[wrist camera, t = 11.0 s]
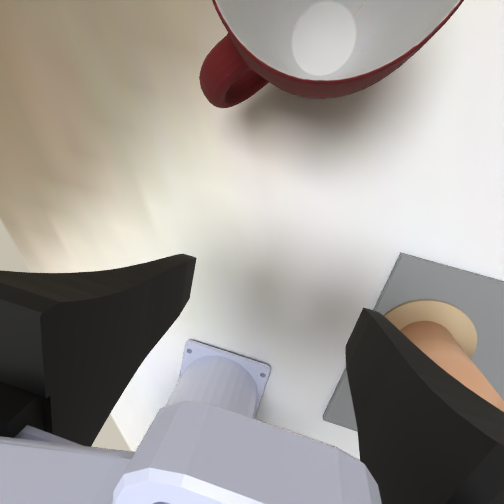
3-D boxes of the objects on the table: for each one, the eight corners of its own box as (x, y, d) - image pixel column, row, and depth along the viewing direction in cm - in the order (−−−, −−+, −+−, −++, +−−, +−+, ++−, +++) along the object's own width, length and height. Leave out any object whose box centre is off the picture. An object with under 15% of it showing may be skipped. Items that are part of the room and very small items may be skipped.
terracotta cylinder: (439, 371, 22) (485, 448, 16) (386, 357, 22) (412, 427, 16) (462, 329, 20) (522, 397, 15) (405, 314, 21) (441, 376, 15)
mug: (277, 169, 19) (251, 189, 10) (200, 69, 18) (91, -11, 9) (426, 46, 16) (595, -98, 7) (342, -92, 14) (404, -511, 5)
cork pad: (445, 387, 22) (447, 391, 22) (358, 360, 23) (359, 363, 23) (494, 316, 20) (497, 319, 19) (394, 287, 20) (396, 289, 20)
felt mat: (571, 499, 24) (575, 504, 24) (322, 416, 26) (323, 420, 26) (745, 348, 18) (754, 352, 18) (400, 252, 20) (402, 254, 19)
